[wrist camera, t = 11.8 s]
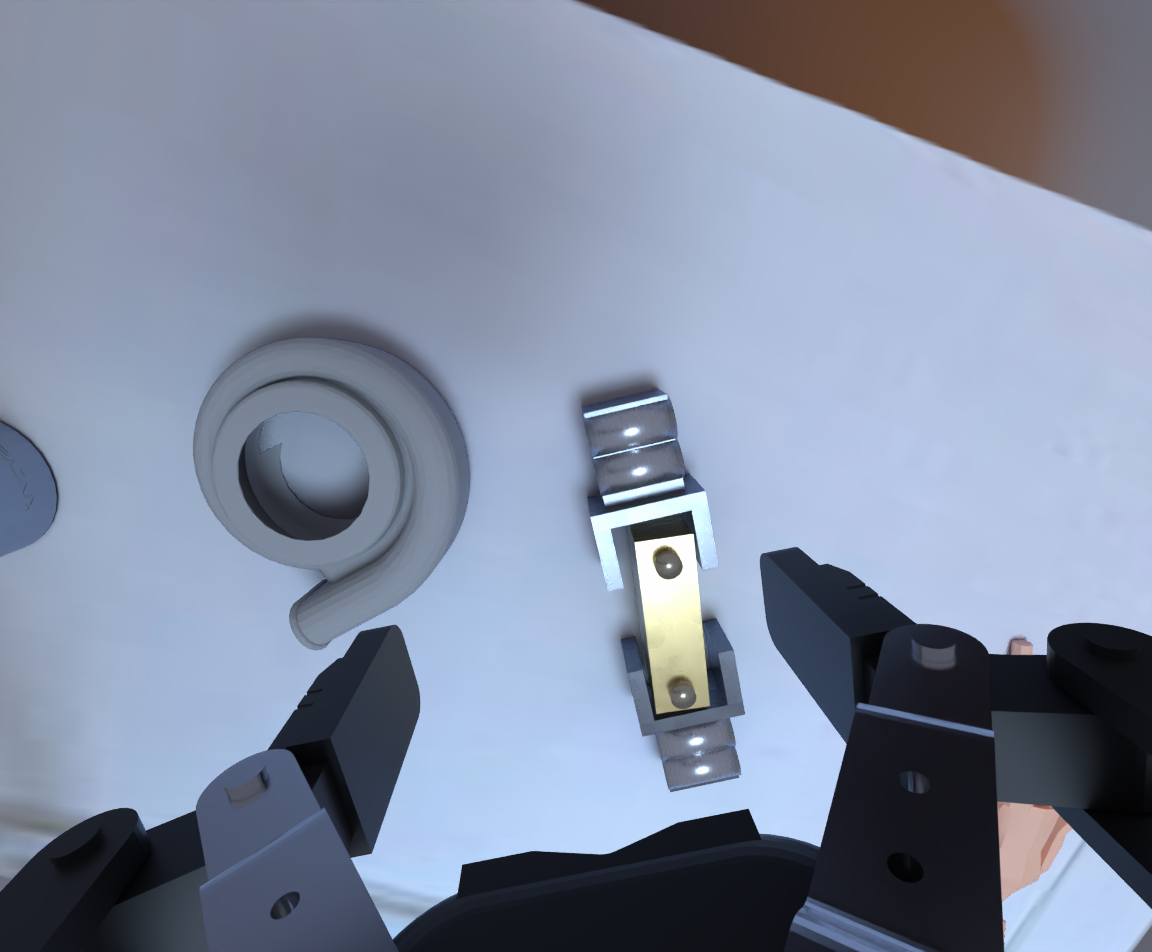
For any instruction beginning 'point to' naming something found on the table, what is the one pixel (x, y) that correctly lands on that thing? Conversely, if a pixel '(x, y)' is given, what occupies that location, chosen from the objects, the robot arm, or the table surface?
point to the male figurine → (1027, 832)
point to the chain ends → (660, 488)
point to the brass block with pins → (669, 612)
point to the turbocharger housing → (395, 464)
